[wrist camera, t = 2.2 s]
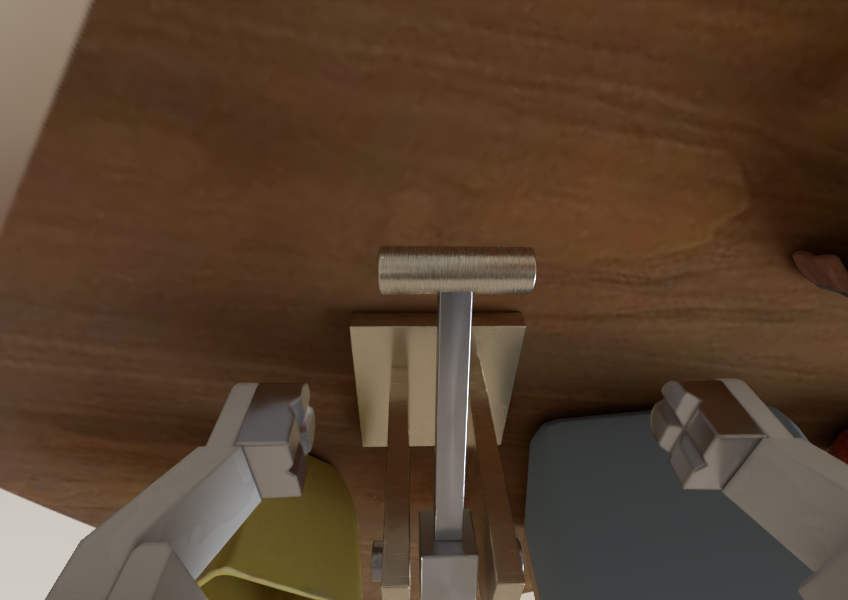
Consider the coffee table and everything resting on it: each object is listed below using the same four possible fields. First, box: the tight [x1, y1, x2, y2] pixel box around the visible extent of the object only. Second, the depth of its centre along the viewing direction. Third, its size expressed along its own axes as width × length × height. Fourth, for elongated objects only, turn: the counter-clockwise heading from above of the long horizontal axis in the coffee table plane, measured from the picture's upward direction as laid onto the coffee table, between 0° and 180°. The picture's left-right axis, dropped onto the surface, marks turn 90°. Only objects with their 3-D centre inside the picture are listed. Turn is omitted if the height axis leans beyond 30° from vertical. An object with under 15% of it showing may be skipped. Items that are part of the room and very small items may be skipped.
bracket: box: [350, 312, 526, 600], centre depth 21 cm, size 10×9×12 cm
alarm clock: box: [523, 405, 814, 600], centre depth 25 cm, size 16×16×16 cm
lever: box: [378, 246, 537, 600], centre depth 16 cm, size 14×5×2 cm, turn 179°
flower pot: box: [195, 454, 362, 600], centre depth 27 cm, size 9×9×9 cm
